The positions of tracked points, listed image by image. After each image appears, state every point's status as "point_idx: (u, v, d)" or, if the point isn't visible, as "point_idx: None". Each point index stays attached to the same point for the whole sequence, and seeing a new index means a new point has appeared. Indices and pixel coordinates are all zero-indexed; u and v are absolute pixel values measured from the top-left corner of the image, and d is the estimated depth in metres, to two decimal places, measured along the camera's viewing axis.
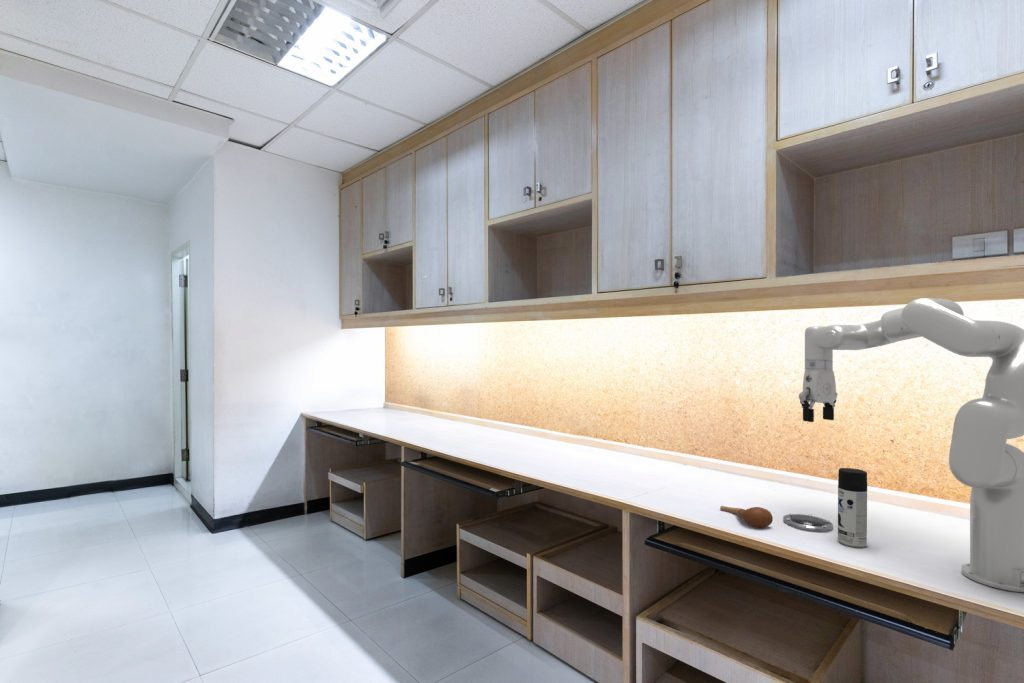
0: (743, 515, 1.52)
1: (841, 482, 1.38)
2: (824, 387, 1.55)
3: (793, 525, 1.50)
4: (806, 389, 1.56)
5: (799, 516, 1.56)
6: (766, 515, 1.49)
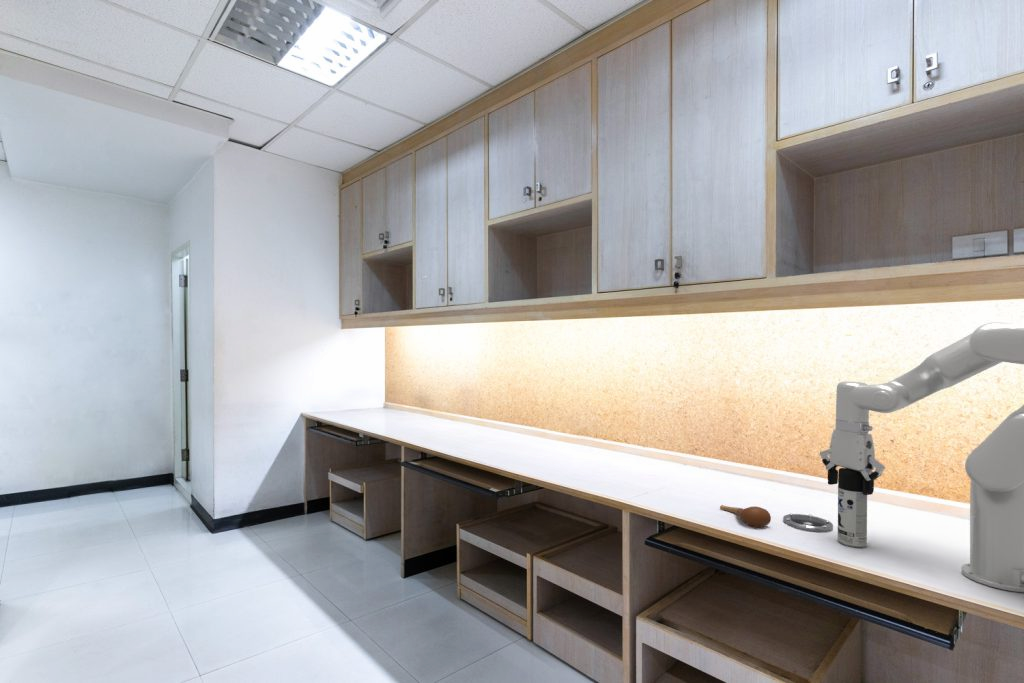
0: (741, 514, 1.52)
1: (841, 482, 1.38)
2: None
3: (793, 525, 1.50)
4: (871, 458, 1.34)
5: (799, 516, 1.56)
6: (764, 515, 1.49)
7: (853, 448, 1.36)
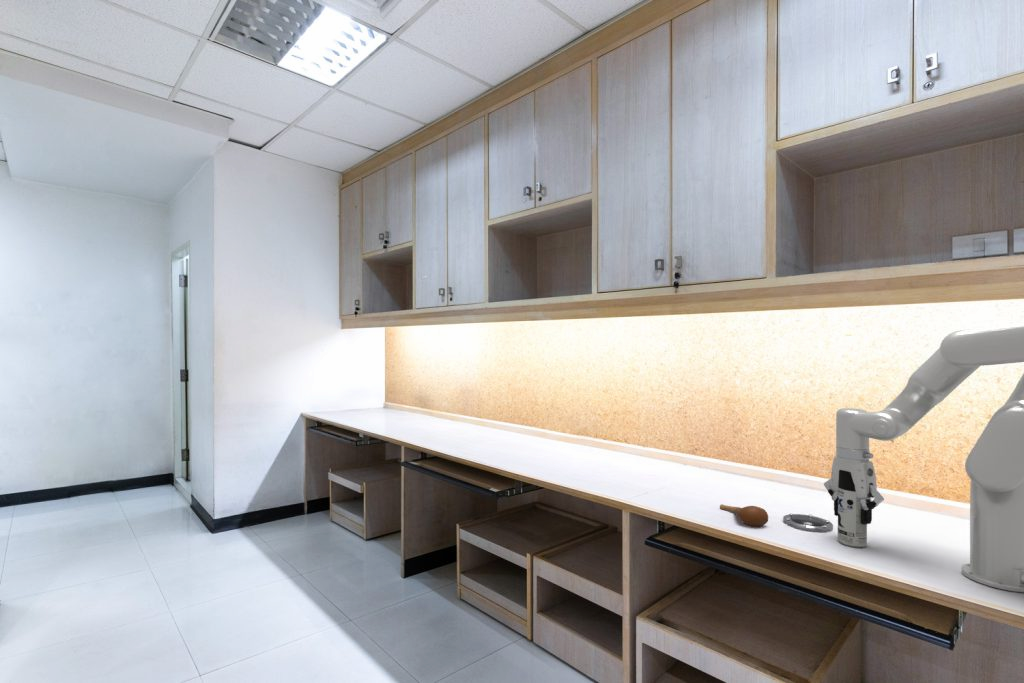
0: (738, 513, 1.53)
1: (841, 482, 1.38)
2: None
3: (793, 525, 1.50)
4: (872, 487, 1.34)
5: (799, 516, 1.56)
6: (761, 514, 1.50)
7: (855, 475, 1.36)
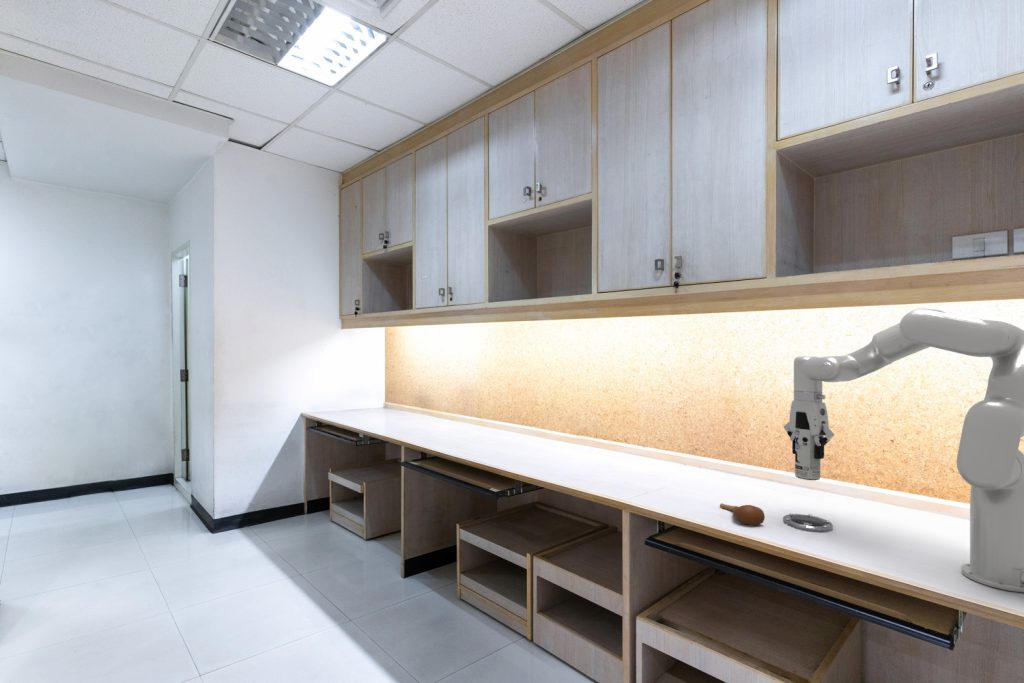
0: (734, 512, 1.54)
1: (798, 422, 1.53)
2: None
3: (793, 525, 1.50)
4: (824, 425, 1.48)
5: (799, 516, 1.56)
6: (756, 513, 1.51)
7: (809, 415, 1.51)
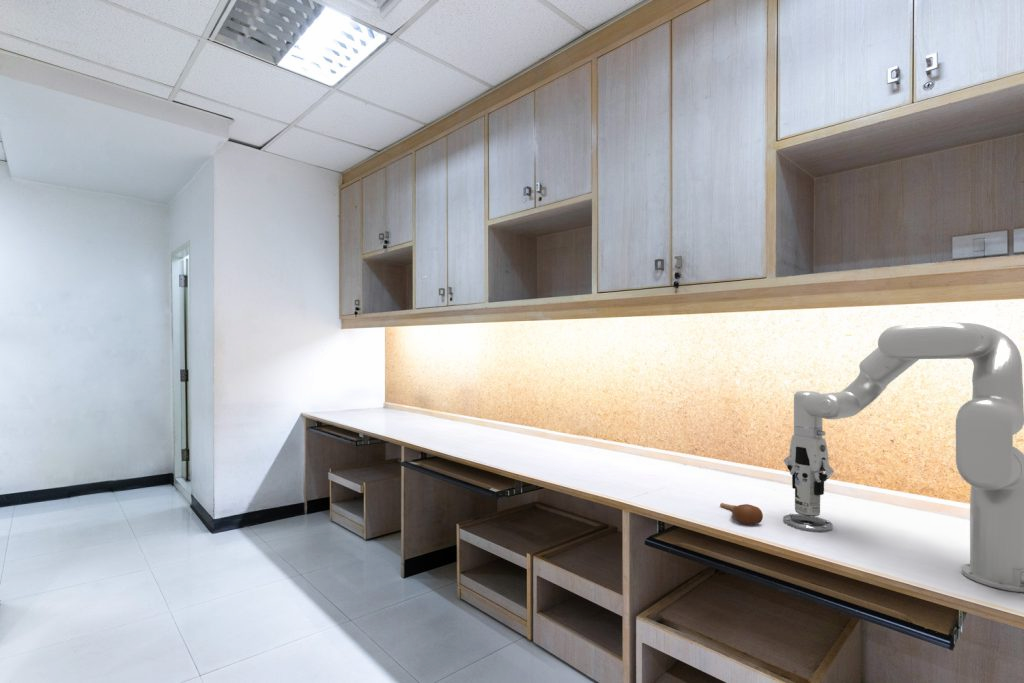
0: (733, 511, 1.55)
1: (797, 457, 1.53)
2: None
3: (793, 525, 1.50)
4: (824, 461, 1.48)
5: (799, 516, 1.56)
6: (754, 512, 1.51)
7: (809, 451, 1.50)
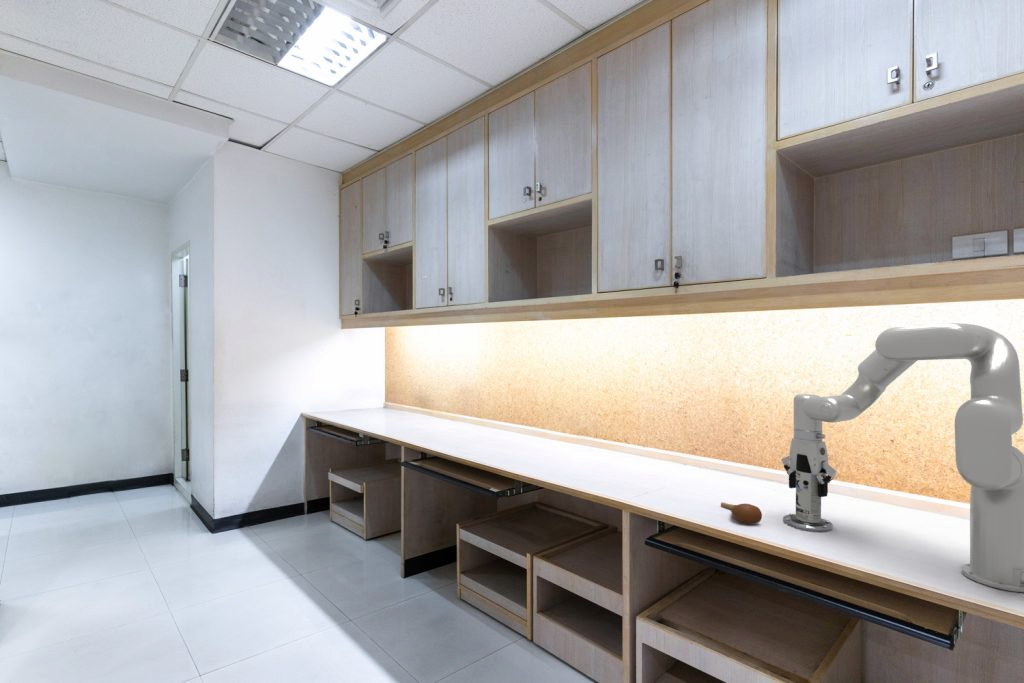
0: (732, 511, 1.56)
1: (798, 465, 1.53)
2: None
3: (793, 525, 1.50)
4: (824, 463, 1.48)
5: None
6: (753, 512, 1.52)
7: (809, 454, 1.51)
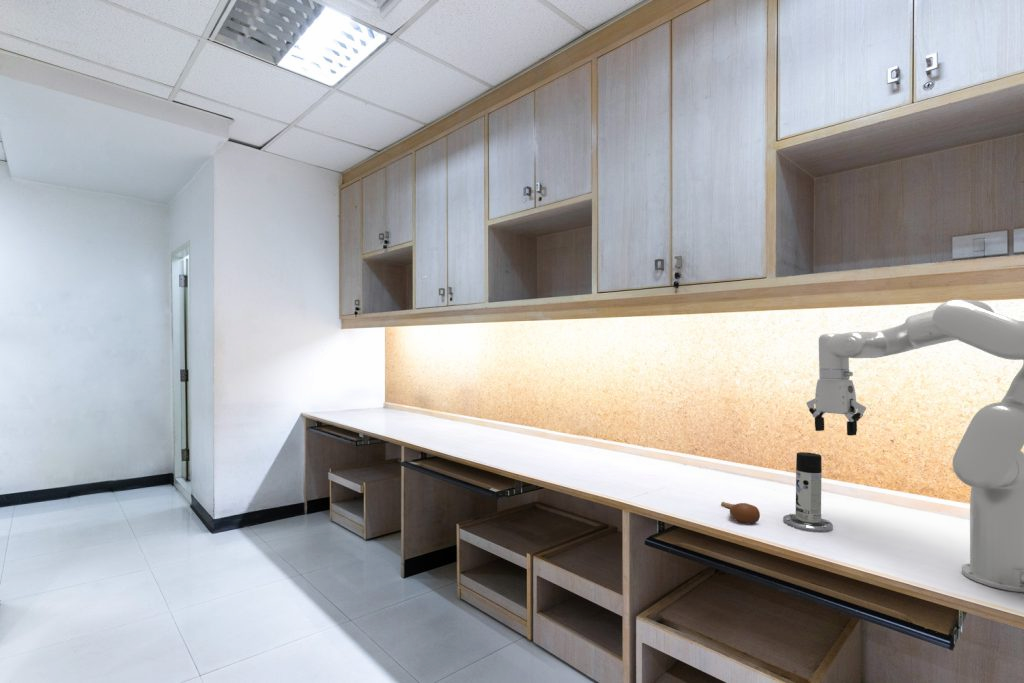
0: (730, 510, 1.57)
1: (798, 465, 1.53)
2: None
3: (793, 525, 1.50)
4: (853, 401, 1.45)
5: None
6: (751, 511, 1.52)
7: (836, 393, 1.48)
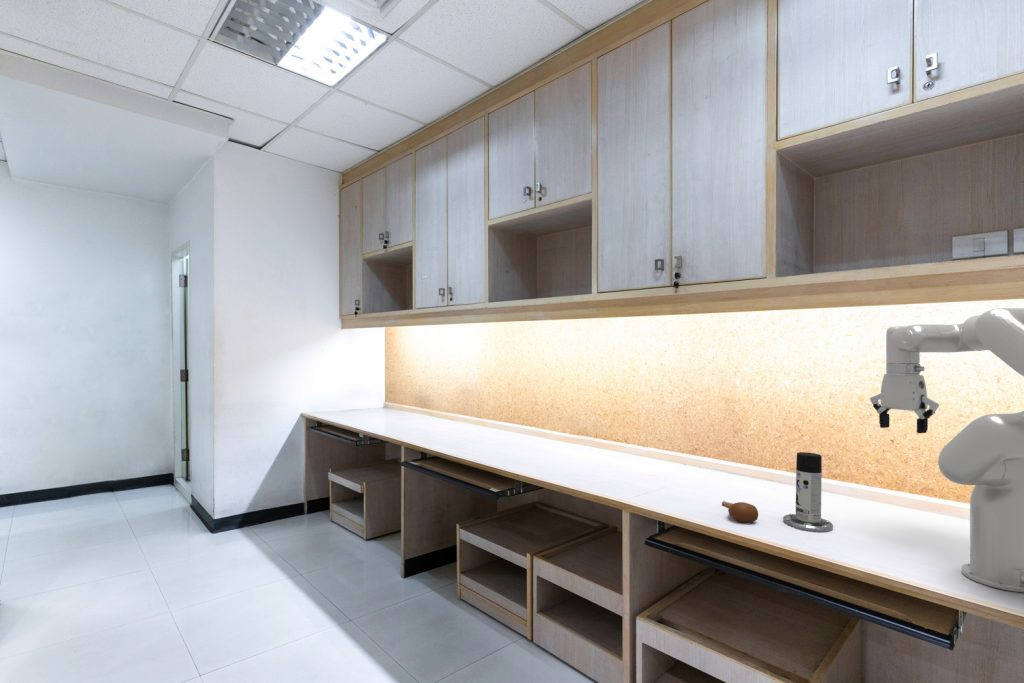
0: (728, 509, 1.57)
1: (798, 465, 1.53)
2: None
3: (793, 525, 1.50)
4: (924, 397, 1.38)
5: None
6: (749, 510, 1.53)
7: (906, 389, 1.41)
